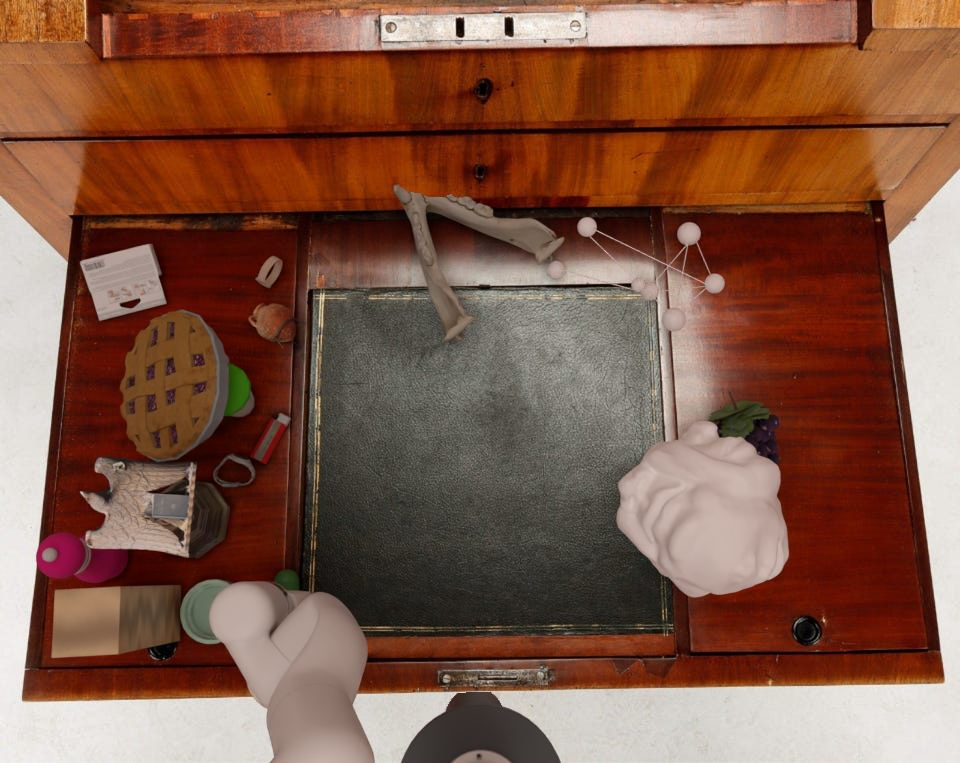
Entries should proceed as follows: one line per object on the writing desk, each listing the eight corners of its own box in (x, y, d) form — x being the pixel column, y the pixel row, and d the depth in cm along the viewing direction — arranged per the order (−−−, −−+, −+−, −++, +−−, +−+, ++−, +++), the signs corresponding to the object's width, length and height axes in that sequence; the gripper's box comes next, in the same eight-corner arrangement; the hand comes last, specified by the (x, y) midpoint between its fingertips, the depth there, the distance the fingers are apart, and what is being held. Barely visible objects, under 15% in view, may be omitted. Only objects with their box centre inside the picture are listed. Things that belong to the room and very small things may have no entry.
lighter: (267, 465, 136) (292, 419, 138) (264, 463, 135) (290, 417, 137) (251, 457, 137) (276, 411, 138) (249, 455, 135) (274, 409, 137)
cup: (260, 373, 139) (237, 349, 125) (269, 421, 138) (246, 403, 123) (211, 384, 139) (181, 361, 124) (219, 432, 137) (189, 415, 122)
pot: (316, 326, 140) (289, 356, 141) (280, 292, 141) (255, 322, 142) (302, 324, 134) (275, 355, 135) (265, 289, 135) (238, 320, 136)
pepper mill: (139, 542, 133) (84, 536, 114) (120, 589, 132) (61, 591, 112) (94, 527, 134) (32, 518, 114) (75, 573, 132) (8, 573, 113)
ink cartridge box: (153, 243, 142) (171, 303, 143) (83, 260, 141) (102, 320, 143) (149, 243, 139) (167, 303, 141) (78, 260, 139) (97, 321, 140)
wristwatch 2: (254, 484, 133) (248, 451, 133) (213, 491, 133) (207, 458, 133) (259, 480, 137) (253, 448, 136) (219, 487, 137) (214, 455, 136)
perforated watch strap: (259, 284, 143) (251, 274, 138) (275, 260, 144) (268, 249, 139) (273, 292, 142) (266, 282, 137) (289, 268, 143) (283, 257, 138)
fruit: (808, 470, 131) (776, 378, 129) (748, 500, 130) (714, 407, 127) (771, 459, 141) (740, 373, 139) (714, 487, 140) (682, 400, 137)
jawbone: (458, 144, 146) (461, 107, 131) (563, 251, 145) (578, 226, 130) (347, 246, 144) (336, 221, 129) (453, 356, 143) (455, 344, 128)
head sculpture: (685, 650, 113) (562, 529, 129) (777, 625, 128) (656, 520, 144) (774, 498, 104) (630, 390, 121) (861, 491, 120) (723, 396, 136)
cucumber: (301, 642, 131) (297, 644, 127) (277, 643, 131) (272, 645, 127) (300, 568, 133) (296, 568, 130) (276, 570, 133) (271, 569, 130)
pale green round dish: (248, 640, 131) (242, 642, 127) (187, 643, 130) (179, 645, 127) (248, 577, 133) (243, 577, 129) (188, 581, 132) (180, 581, 129)
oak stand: (180, 640, 131) (118, 654, 107) (125, 643, 130) (51, 658, 107) (181, 584, 132) (120, 586, 109) (127, 587, 132) (54, 589, 109)
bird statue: (268, 476, 136) (203, 442, 102) (256, 563, 133) (184, 558, 99) (161, 466, 136) (59, 428, 102) (146, 553, 133) (36, 544, 99)
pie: (228, 292, 127) (199, 285, 123) (245, 439, 121) (216, 437, 117) (136, 342, 138) (107, 337, 134) (148, 479, 132) (118, 478, 128)
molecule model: (677, 246, 151) (705, 341, 145) (539, 253, 145) (562, 353, 139) (715, 199, 139) (748, 302, 133) (565, 205, 132) (592, 313, 126)
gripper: (196, 645, 113) (232, 635, 131) (327, 637, 113) (345, 629, 131) (196, 584, 114) (232, 583, 132) (326, 577, 115) (344, 577, 133)
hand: (288, 606), depth 132 cm, fingers closed on cucumber, 3 cm apart
